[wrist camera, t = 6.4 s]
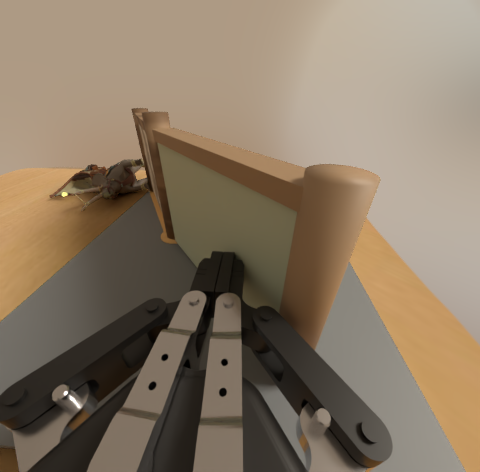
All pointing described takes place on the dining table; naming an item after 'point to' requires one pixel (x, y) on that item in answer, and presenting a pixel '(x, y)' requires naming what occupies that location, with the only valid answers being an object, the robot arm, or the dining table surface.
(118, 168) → the figurine
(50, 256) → the dining table surface
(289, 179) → the fence gate
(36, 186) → the dining table surface
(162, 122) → the post
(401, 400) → the card
